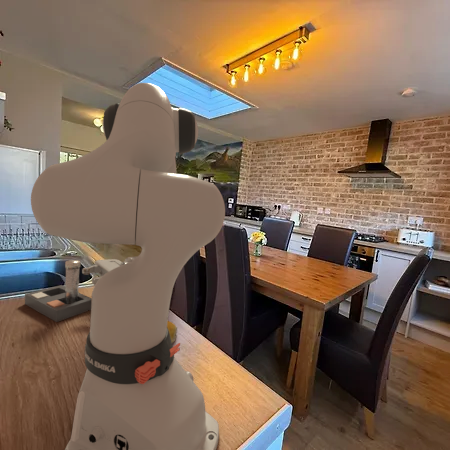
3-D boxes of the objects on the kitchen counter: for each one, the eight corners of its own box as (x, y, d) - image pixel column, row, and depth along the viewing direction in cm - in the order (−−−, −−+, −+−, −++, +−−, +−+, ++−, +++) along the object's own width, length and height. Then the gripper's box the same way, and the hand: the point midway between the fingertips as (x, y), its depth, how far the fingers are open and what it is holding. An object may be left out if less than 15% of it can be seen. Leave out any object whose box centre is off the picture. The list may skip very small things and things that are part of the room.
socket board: (92, 308, 75) (93, 298, 74) (56, 322, 66) (56, 309, 65) (61, 294, 82) (61, 284, 82) (24, 304, 73) (25, 293, 73)
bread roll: (143, 328, 68) (144, 314, 67) (177, 330, 68) (179, 316, 68) (134, 347, 59) (136, 330, 59) (174, 349, 60) (175, 333, 60)
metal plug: (80, 309, 74) (83, 262, 72) (68, 313, 70) (70, 264, 69) (73, 305, 75) (75, 259, 74) (60, 309, 72) (62, 261, 71)
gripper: (121, 253, 91) (78, 257, 82) (148, 269, 77) (99, 276, 67) (120, 270, 92) (77, 276, 83) (147, 289, 78) (98, 299, 68)
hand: (87, 276), depth 75 cm, fingers open, 8 cm apart
